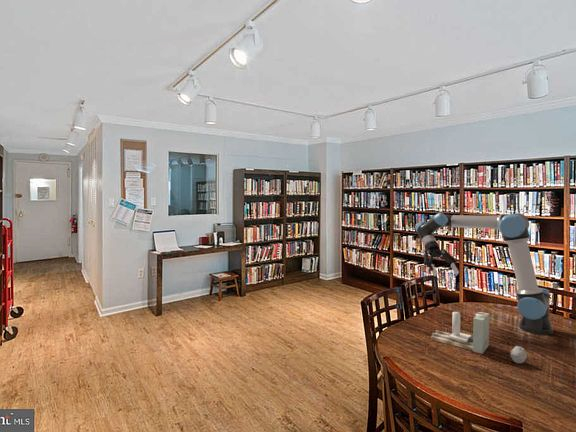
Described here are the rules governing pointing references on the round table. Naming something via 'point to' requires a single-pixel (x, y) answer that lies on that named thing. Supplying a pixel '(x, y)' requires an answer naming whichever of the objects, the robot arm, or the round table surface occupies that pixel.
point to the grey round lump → (518, 354)
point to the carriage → (458, 329)
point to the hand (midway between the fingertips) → (446, 274)
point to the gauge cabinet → (480, 332)
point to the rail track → (450, 340)
